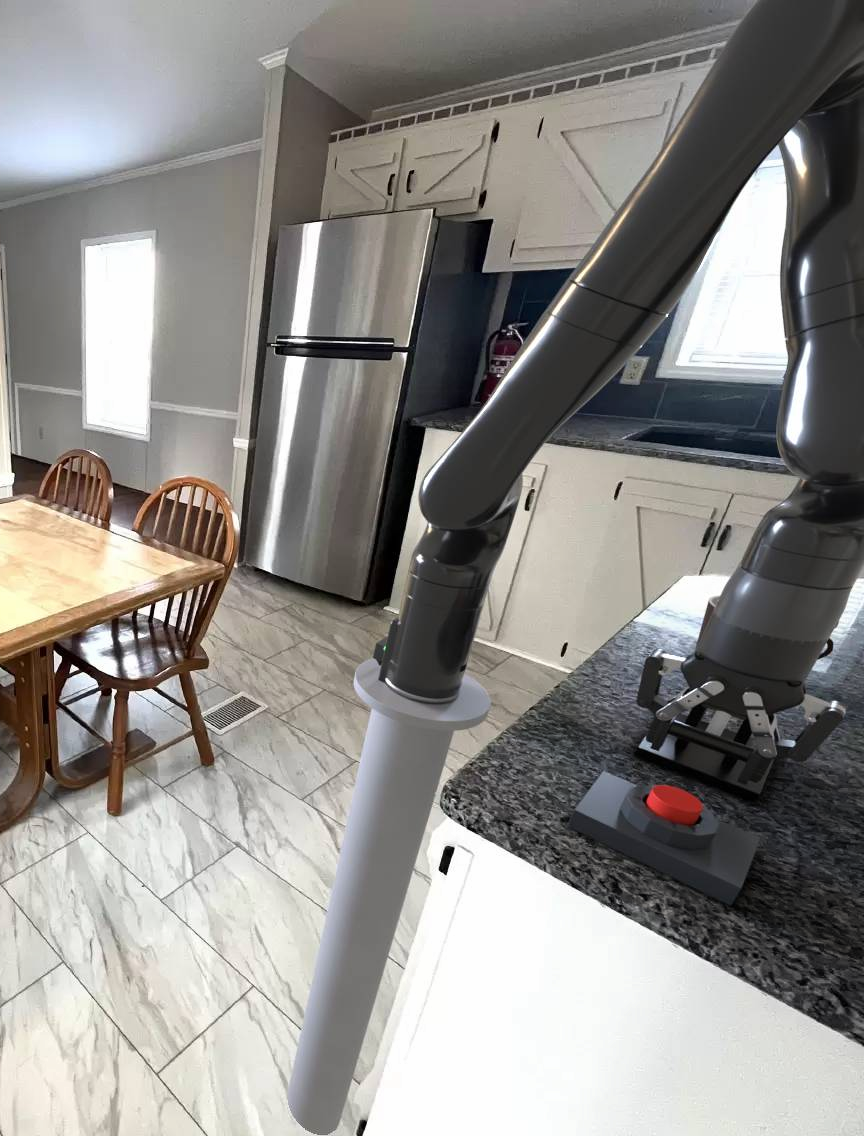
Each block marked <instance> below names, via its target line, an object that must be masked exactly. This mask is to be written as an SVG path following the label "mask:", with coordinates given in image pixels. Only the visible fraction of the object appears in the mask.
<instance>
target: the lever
mask: <svg viewBox="0 0 864 1136" xmlns="http://www.w3.org/2000/svg"><path fill="white" fill-rule="evenodd" d="M731 718H732V716H731V715H729V714H727V713H726V712H723V711H717V710H715V713H714V715H713V717H712V719H711V720H710V722H709V723H710V724H709V726H708V727H707V729H706V731H703V730H701V729H698V728H695V727H692V726H689V725H686V724H683V723H681V722H678V721H673V722H672V724H671V726H670V728H669V730H668V732H667V734H669V735H672V736H675V737H678V738H680V739H683V740H686V741H689V742H691V743H694V744H697V745H700V746H702V747H705V748H708V749H711V750H713V751H716V752H719V753H722V754H724V755H727V756H730V757H732V758H735V759H738V760H741V761H743V762H747V761H748V759H749V758H750V756H751V754H752V752H753V750H754V748H752V747H749V746H746V745H743V744H740V743H738V742H735V741H732V740H729V739H726V738H723V737H721V734H722V732H723V730H724V728H725V729H726V726H727V725H728V723H729V721H730V719H731Z"/></svg>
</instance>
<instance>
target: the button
mask: <svg viewBox="0 0 864 1136" xmlns="http://www.w3.org/2000/svg"><path fill="white" fill-rule="evenodd" d="M646 806H647V808H648V809H650V810H651V811H652V812H654V813H655V814H656V815H658V816H660V817H662V818H664V819H667V820H669V821H671V822H673V823H678V824H683V825H687V826H690V825H693V824H695V823H696V821H697V819H698V817H699V815H700V813H701V812H702V810H703V806H704V805H703V803H702V802H701V800H700V799H699V798H698V797H697V796H695V795H693V794H692V793H690V792H688V791H686V790H684V789H682V788H679V787H676V786H672V785H667V784H658V785H655V787H653V788H652V790H651V792H650V794H649V797H648V799H647V801H646Z"/></svg>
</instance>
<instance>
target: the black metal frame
mask: <svg viewBox="0 0 864 1136" xmlns="http://www.w3.org/2000/svg"><path fill="white" fill-rule="evenodd" d="M702 705H703V704H701V703H700V704H698V705H696V706H695V707H693V708H691V709H690V711H689V713H688V715H687V714H684V713H681V714H679V715H677V716H676V718H675V720H674V721H678V722H681V723H683V724H686V725H689V726H692V727H695V728H698V729H701V730H703V731H706V729H707V727H708V726H709V724H710V722H707V721H704V720H703V718H704V717H705V715H706V712H707V710H708V708H705V707H702ZM646 735H647V733H646V734H645V736H644V737H643V739H642V740H641V741H640V743H639V744H638V746H637V747H636V749H635V751H634V754H633V755H634V756H635V757H638V758H640V759H643V760H645V761H648V762H651V763H653V764H656V765H658V766H661V767H663V768H666V769H669V770H671V771H673V772H676V773H678V774H681V775H683V776H686V777H689V778H691V779H693V780H696V781H699V782H701V783H704V784H706V785H709V786H711V787H713V788H716V789H718V790H721V791H724V792H726V793H729V794H732V795H733V796H737V797H738V798H739V797H740V798H742V799H744V800H747V801H750V802H751V803H756V802H757V801H758V798H759V797H760V796H761V793H762V790H763V789H764V786H765V783H766V781H767V779H768V776H769V773H770V771H771V769H772V766H773V763H774V761H775V759H773V760H772V761H771V763H770V765H769V767H768V768H767V770H766V772H765V774H764V775H763V777H762V779H761V780H760V781H758V782H757V783H755V782H752V781H748V783H747V784H746V785H744V784H742V783H739V782H737V779H738V777H739V775H740V773H741V771H742V769H743V768H744V766H745V764H746V762H743V761H741V760H738V759H735V758H732V757H730V756H727V755H724V754H722V753H719V752H716V751H713V750H711V749H708V748H705V747H702V746H700V745H697V744H694V743H691V742H689V741H686V740H683V739H680V738H678V737H675V736H672V735H669V734H668V735H667V737H666V739H665V742H664V744H663V745H662V747H661V748H660V750H659V751H656V750H654V749H651V748H650V747H651V745H652V743H650V742H647V741H646ZM751 736H753V734H752V730H751V726H750V722H749V719H746V720H745V721H744V720H742V722H741V724H740V725H739V728H738V730H737V731H734V730H730V729H727V728H726V727H725V728H724V730H723V732H722V734H721V737H723V738H726V739H729V740H732V741H735V742H738V743H740V744H743V745H746V746H749V747H752V748H754V747H755V746H756V740H755V737H751Z"/></svg>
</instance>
